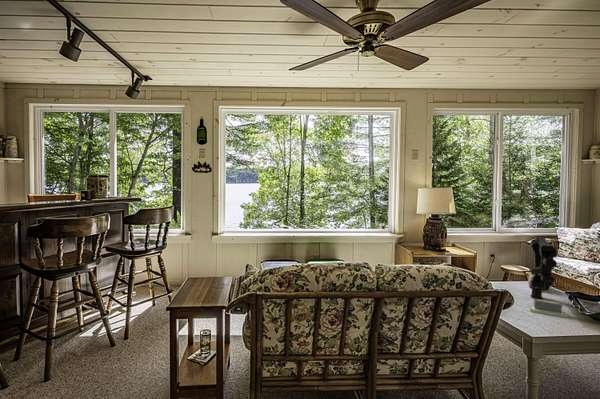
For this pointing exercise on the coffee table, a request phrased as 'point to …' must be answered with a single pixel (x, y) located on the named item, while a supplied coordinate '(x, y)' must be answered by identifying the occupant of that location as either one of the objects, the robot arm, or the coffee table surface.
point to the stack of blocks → (530, 279)
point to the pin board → (547, 312)
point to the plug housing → (547, 305)
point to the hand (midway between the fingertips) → (544, 288)
